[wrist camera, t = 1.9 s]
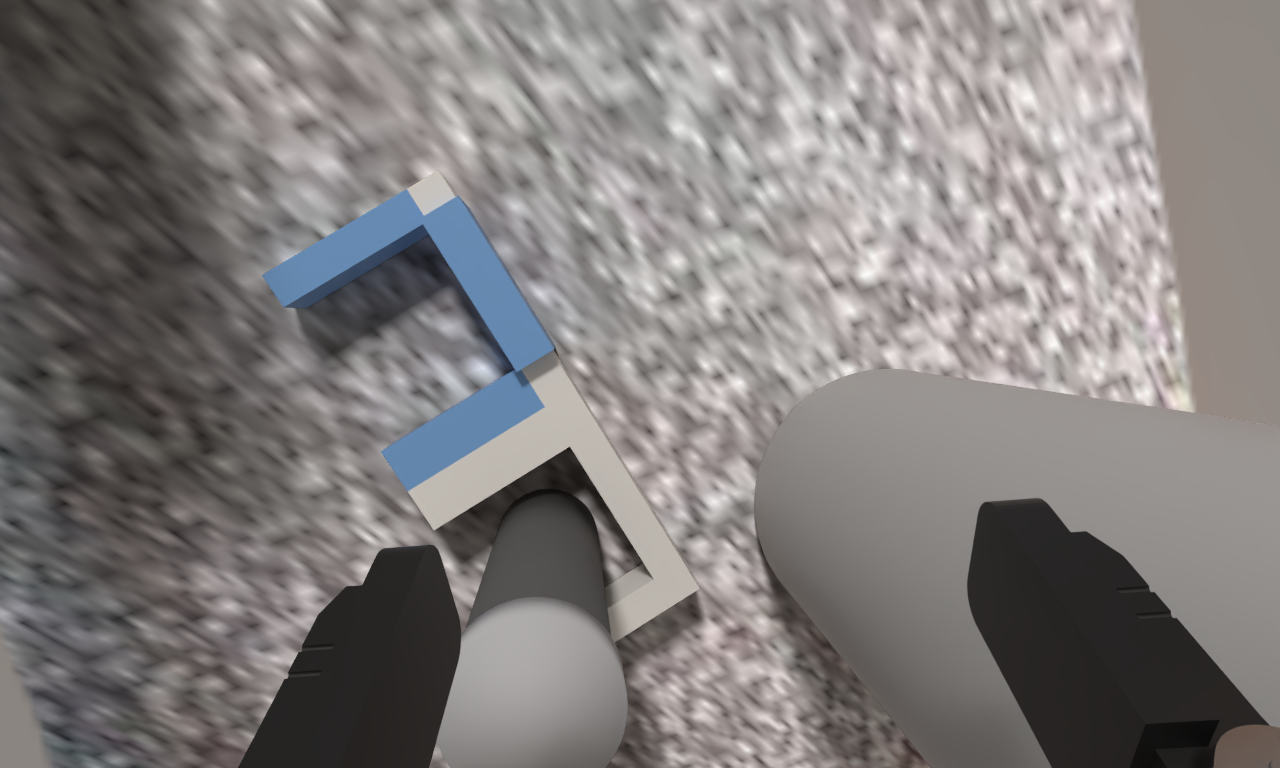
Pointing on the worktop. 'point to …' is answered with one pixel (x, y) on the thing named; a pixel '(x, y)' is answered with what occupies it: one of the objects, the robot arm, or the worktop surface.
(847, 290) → the worktop surface
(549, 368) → the blue grey comb bracket
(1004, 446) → the cylinder vase
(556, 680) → the grey capped cylinder
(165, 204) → the worktop surface
